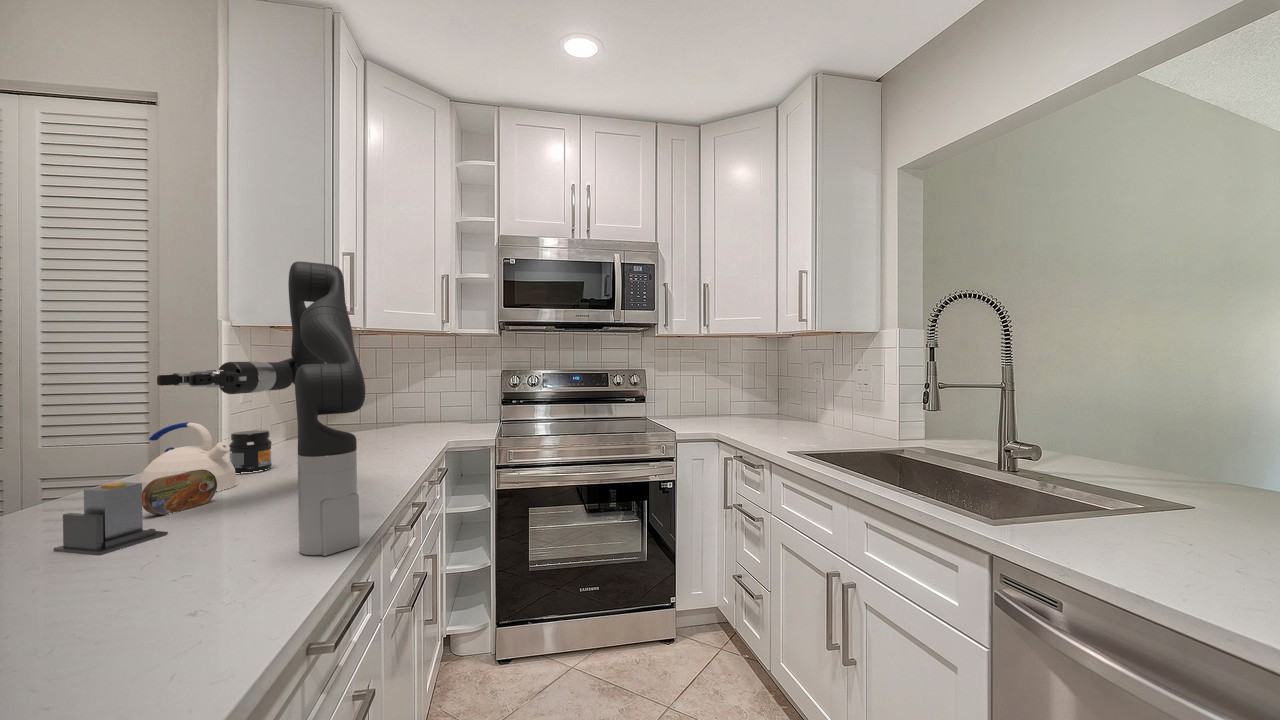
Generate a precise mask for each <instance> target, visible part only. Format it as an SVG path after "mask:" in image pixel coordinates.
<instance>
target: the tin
mask: <svg viewBox="0 0 1280 720" xmlns="http://www.w3.org/2000/svg"><path fill="white" fill-rule="evenodd" d="M216 489H217V480H216V478H215V476H214V475H213V474H212V473H211V472H210V471H207V470H194V471H188V472H184V473H180V474H175V475H171V476H166V477H161V478H157V479H155V480H153V481H151V482H150V483H149V484H148V485H147V486H146V487H145V488H144V490H143V492H142V509H143V510H144V511H146V512H147V513H149V514H151V515H157V516H158V515H161V516H167V515H166V514H168V515H170V514H169V513H172V514H174V513H173V512H176V513H178V512H177V511H179V512H181V511H180V510H183V509H186V510H188V509H187V508H190V507H193V508H195V507H194V506H197V505H200V506H202V505H201V504H203V505H206V504H207V503H208V502H210V501H211V500H212V499H213V498H214V496H215V494H216V493H217V492H216ZM215 492H216V493H215ZM197 507H198V506H197ZM190 509H191V508H190ZM183 511H184V510H183Z"/></svg>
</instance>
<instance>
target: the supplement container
mask: <svg viewBox="0 0 1280 720" xmlns="http://www.w3.org/2000/svg"><path fill="white" fill-rule="evenodd" d="M230 440H231V442H230V443H229V447H230V451H229V460H230V461H231V463H232V464H233V466H234V468H235V473H241V472H253V471H259V470H265V469H268V468H270V469H272V467H273V465H272V443H273V442H272V441H271V439H270V431H269V430H268V429H257V430H244V431H237V432H232V433H230ZM268 470H269V469H268Z"/></svg>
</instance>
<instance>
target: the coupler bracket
mask: <svg viewBox="0 0 1280 720" xmlns="http://www.w3.org/2000/svg"><path fill="white" fill-rule="evenodd" d="M167 534H168V535H169V532H168V531H163V530H156V528H148V529H143V531H141V532H138V533H134V534H131V535H127V536H124V537H120V538H117V539H113V540H110V541H106V542H103V515H92V514H84V513H78V512H77V513H76V512H75V513H74V512H68V513H64V514H62V539H63V541H62V544H63V545H60V546H56V547H53V551H54V552H62V553H73V554H83V555H85V554H86V555H94V556H102V555H105V554H108V553H111V552H115V551H118V550H121V549H120V548H122V549H124V548H123V547H125V548H128V547H131V546H134V545H133V544H135V545H137V543H138V544H141V543H145V542H148V541H150V540H155V539H158V538H161V537H165V536H167ZM147 540H148V541H147ZM144 541H145V542H144ZM140 542H141V543H140ZM130 545H131V546H130ZM127 546H128V547H127ZM117 549H118V550H117Z"/></svg>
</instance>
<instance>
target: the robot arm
mask: <svg viewBox="0 0 1280 720" xmlns="http://www.w3.org/2000/svg"><path fill="white" fill-rule="evenodd" d="M344 279H345V278H344V275H343V272H342V270H341V269H340V268H339V267H338V266H337V265H333V264H328V263H318V262H309V261H295V262H293V263H292V264H291V266H290V268H289V272H288V302H289V313H290V320H291V321H290V322H291V329H292V331H291V333H292V334H291V335H292V338H291V351H290V353H291V357H290V358H287V359H283V360H280V361H277V362H274V361H273V362H272V361H271V362H270V361H268V362H267V361H265V362H263V361H227V362H224V363H222V364H221V365H220V367H219V368H218V369H217V370H216V369H207V370H200V371H198V370H197V371H190V372H189V373H180V372H179V373H177V372H176V373H175V372H174V373H171V374H159V375H157V376H156V384H157V386H160V387H161V386H162V387H163V386H180V387H181V386H190V387H191V388H195V387H196V388H197V387H199V388H202V387H206V388H218V389H220V391H221V392H223V393H224V394H228V395H239V394H241V395H242V394H254V393H260V392H261V393H262V392H265V391H266V392H267V391H277V390H278V391H279V390H286V389H287V388H289V387H290V386H291V385H292V384H294V392H295V393H294V394H295V396H294V397H295V403H296V404H295V405H296V417H297V419H296V420H297V501H298V502H297V504H298V505H297V506H298V507H297V509H298V512H297V514H298V517H297V518H298V550H299V551H298V552H299V553H300V554H302V555H306V556H322V557H324V556H327V557H328V556H330V555H333V554H336V553H339V552H342V551H345V550H348V549H351V548H356V547H357V546H360V499H359V498H360V497H359V494H358V471H357V470H358V467H357V465H358V464H357V463H358V462H357V460H358V457H357V454H358V452H357V448H358V446H357V437H356V435H355V434H353V433H351V432H346V431H343V430H339V429H336V428H335V429H334V428H331V427H329V426H327V425H325V424H323V423H322V422H321V421H320V420H319V418H318V417H319V416H321V415H323V416H324V415H340V414H348V413H349V414H351V413H355V412H357V411H359V410H360V409H361V408H362V407H363V406H364V403H365V399H366V382H365V378H364V375H363V372H362V368H361V365H360V361H359V359H358V357H357V353H356V350H355V345H354V339H353V338H354V337H353V336H354V335H353V329H352V325H351V320H350V317H349V312H348V308H347V304H346V292H345V289H346V288H345V281H344ZM305 302H309V303H310V304H309V305H308V306H306V304H305Z"/></svg>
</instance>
